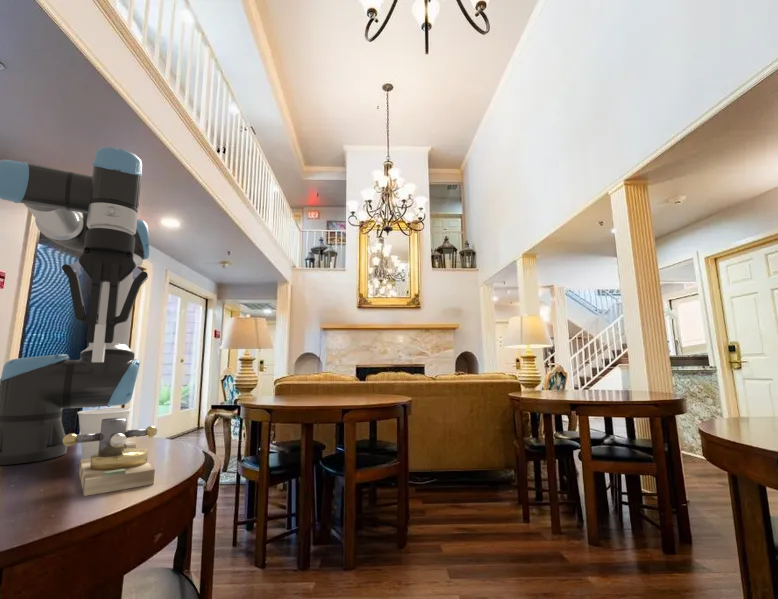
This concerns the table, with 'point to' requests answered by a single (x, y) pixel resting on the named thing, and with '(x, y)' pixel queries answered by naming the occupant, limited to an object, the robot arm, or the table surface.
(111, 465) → the capstan
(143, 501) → the table surface
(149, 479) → the stand
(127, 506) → the table surface
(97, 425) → the cup
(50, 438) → the robot arm
